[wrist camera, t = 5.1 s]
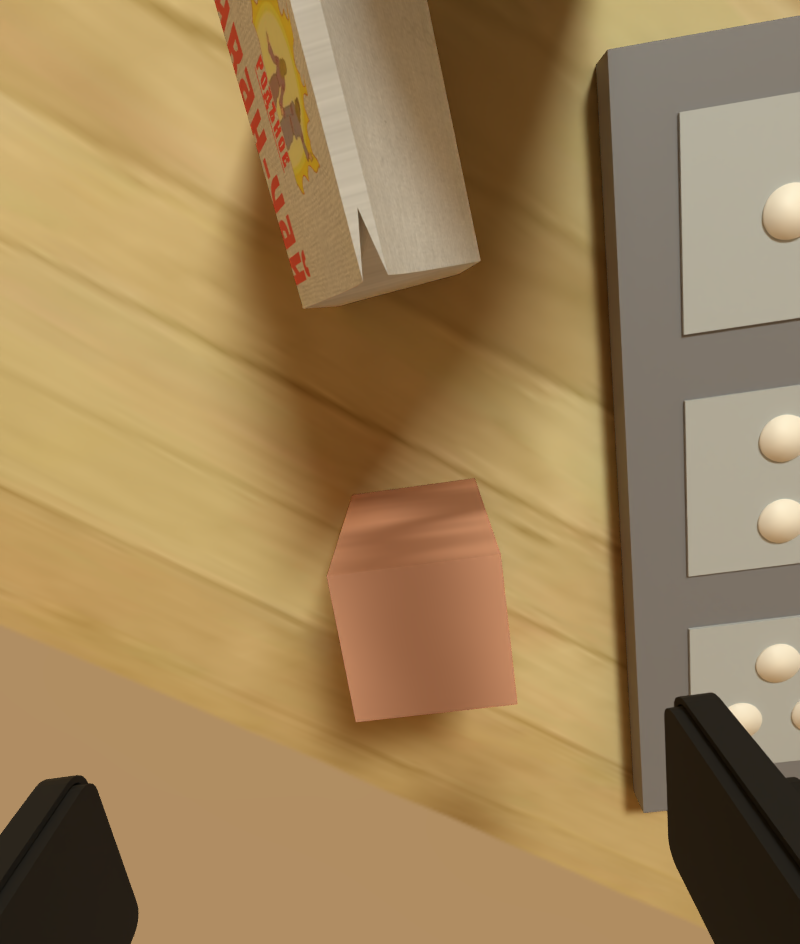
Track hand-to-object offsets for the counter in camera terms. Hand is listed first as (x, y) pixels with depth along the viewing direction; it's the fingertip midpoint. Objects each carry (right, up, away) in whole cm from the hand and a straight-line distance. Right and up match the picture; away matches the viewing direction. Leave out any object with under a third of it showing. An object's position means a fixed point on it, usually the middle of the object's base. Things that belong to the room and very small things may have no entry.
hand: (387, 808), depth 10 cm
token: (+1, +3, +10) cm, 11 cm away
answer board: (+12, +6, +9) cm, 16 cm away
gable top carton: (-1, +14, +7) cm, 16 cm away
